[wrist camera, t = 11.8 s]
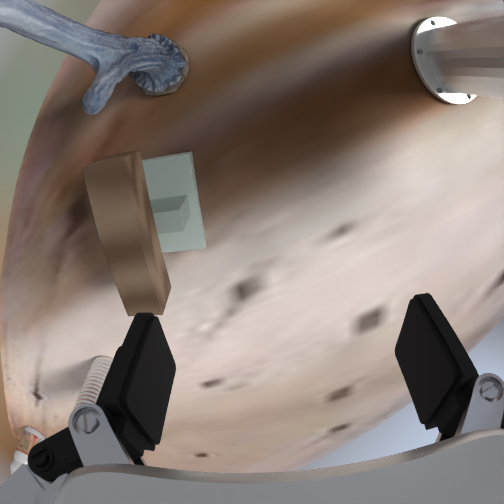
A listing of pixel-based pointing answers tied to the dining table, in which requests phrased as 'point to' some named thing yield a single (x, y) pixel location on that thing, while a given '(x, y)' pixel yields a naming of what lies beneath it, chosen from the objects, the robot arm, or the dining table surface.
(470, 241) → the dining table surface
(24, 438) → the fruit juice
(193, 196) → the block
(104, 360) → the water bottle
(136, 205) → the walnut bar
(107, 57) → the antler
